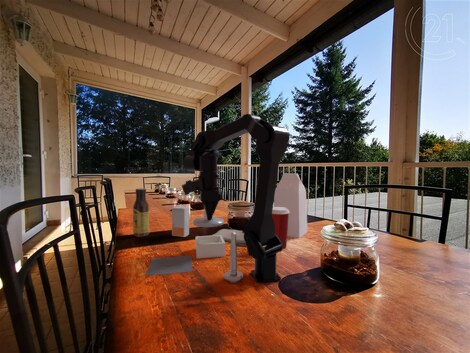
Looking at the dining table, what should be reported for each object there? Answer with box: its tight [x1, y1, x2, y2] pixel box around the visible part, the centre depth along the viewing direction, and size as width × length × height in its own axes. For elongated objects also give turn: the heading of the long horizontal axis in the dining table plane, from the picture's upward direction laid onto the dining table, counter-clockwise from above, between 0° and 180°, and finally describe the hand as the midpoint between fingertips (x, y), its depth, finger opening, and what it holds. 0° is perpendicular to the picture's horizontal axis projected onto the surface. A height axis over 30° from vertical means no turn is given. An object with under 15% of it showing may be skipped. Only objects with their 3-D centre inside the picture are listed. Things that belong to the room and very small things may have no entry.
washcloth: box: [211, 228, 247, 247], centre depth 98 cm, size 12×18×3 cm, turn 69°
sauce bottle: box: [132, 187, 150, 238], centre depth 103 cm, size 6×6×20 cm
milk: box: [273, 172, 308, 239], centre depth 108 cm, size 12×12×26 cm
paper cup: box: [272, 206, 290, 250], centre depth 89 cm, size 8×8×14 cm
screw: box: [223, 232, 244, 284], centre depth 61 cm, size 13×5×5 cm
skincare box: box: [171, 206, 190, 238], centre depth 104 cm, size 6×4×12 cm
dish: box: [195, 235, 226, 259], centre depth 81 cm, size 9×9×5 cm
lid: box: [192, 210, 225, 228], centre depth 81 cm, size 10×10×4 cm
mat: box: [145, 255, 193, 277], centre depth 71 cm, size 12×12×1 cm
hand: (208, 219), depth 81 cm, fingers closed on lid, 3 cm apart
